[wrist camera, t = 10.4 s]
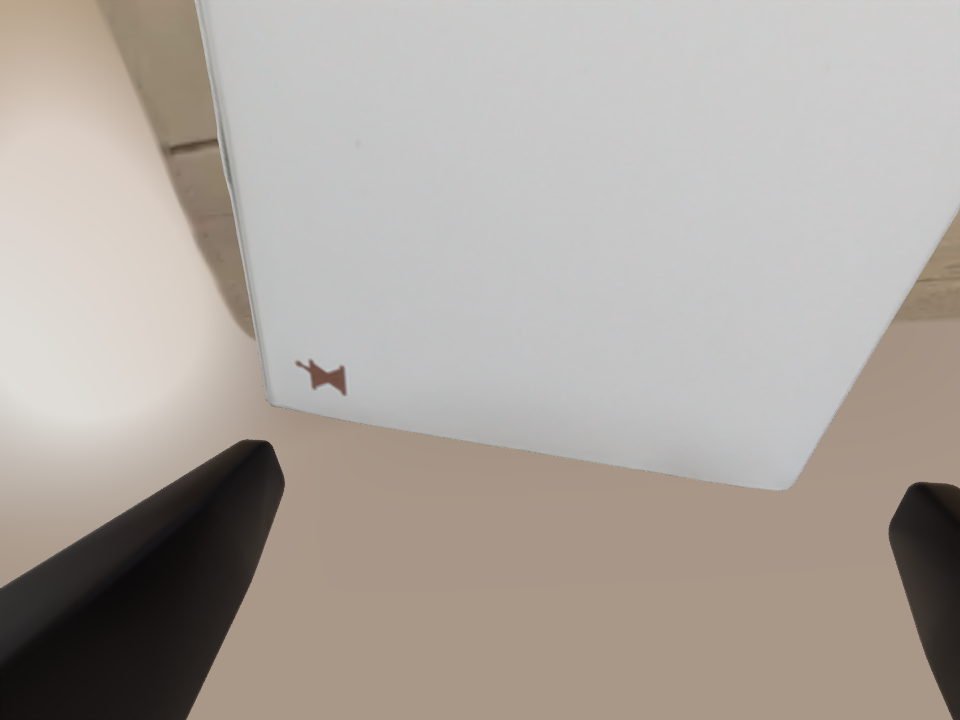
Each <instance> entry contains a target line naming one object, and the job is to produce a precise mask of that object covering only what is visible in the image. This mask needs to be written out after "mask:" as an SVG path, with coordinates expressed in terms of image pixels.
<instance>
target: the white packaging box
mask: <svg viewBox="0 0 960 720" xmlns="http://www.w3.org/2000/svg"><path fill="white" fill-rule="evenodd" d="M195 4H196V9H197V15H198V20H199V25H200V31H201V36H202V42H203V47H204V52H205V58H206V63H207V69H208V75H209V80H210V86H211V92H212V98H213V105H214V111H215V117H216V123H217V138H218V143H219V148H220V153H221V158H222V164H223V170H224V175H225V178H226V182H227V186H228V190H229V194H230V198H231V203H232V208H233V213H234V218H235V224H236V230H237V237H238V242H239V247H240V252H241V257H242V262H243V268H244V273H245V279H246V285H247V290H248V296H249V301H250V307H251V313H252V319H253V325H254V330H255V336H256V342H257V347H258V352H259V357H260V363H261V369H262V376H263V387H264V393H265V397H266V401H267V402H268V403H270V405H271V406H273V407H279V408H285V409H291V410H295V411H300V412H305V413H309V414H314V415H318V416H323V417H328V418H333V419H338V420H344V421H349V422H355V423H360V424H366V425H371V426H377V427H383V428H389V429H394V430H400V431H407V432H413V433H419V434H425V435H431V436H437V437H443V438H449V439H455V440H461V441H467V442H473V443H478V444H484V445H490V446H496V447H503V448H510V449H516V450H523V451H528V452H534V453H540V454H546V455H552V456H557V457H563V458H569V459H575V460H581V461H587V462H594V463H599V464H605V465H611V466H617V467H623V468H629V469H636V470H642V471H648V472H655V473H661V474H666V475H670V476H676V477H684V478H690V479H695V480H699V481H704V482H711V483H718V484H725V485H731V486H737V487H747V488H756V489H766V490H775V491H784V490H786V489H789V488H791V487H792V486H793V485H794V483H795V482H796V480H797V479H798V477H799V476H800V474H801V472H802V471H803V469H804V467H805V465H806V463H807V462H808V460H809V458H810V457H811V455H812V453H813V451H814V450H815V448H816V446H817V445H818V443H819V441H820V440H821V438H822V436H823V435H824V433H825V431H826V430H827V428H828V426H829V425H830V423H831V421H832V420H833V418H834V416H835V415H836V413H837V411H838V410H839V408H840V406H841V405H842V403H843V401H844V400H845V398H846V396H847V394H848V393H849V391H850V389H851V388H852V386H853V385H854V383H855V381H856V380H857V378H858V376H859V374H860V373H861V371H862V370H863V368H864V366H865V365H866V363H867V361H868V360H869V358H870V356H871V355H872V353H873V351H874V349H875V348H876V346H877V345H878V343H879V341H880V340H881V338H882V336H883V335H884V333H885V331H886V329H887V328H888V326H889V325H890V323H891V321H892V320H893V318H894V316H895V315H896V313H897V312H898V310H899V308H900V307H901V305H902V303H903V302H904V300H905V298H906V297H907V295H908V293H909V292H910V290H911V289H912V287H913V285H914V284H915V282H916V280H917V279H918V277H919V275H920V274H921V272H922V271H923V269H924V267H925V266H926V264H927V262H928V261H929V259H930V257H931V256H932V254H933V252H934V251H935V249H936V247H937V246H938V244H939V243H940V241H941V239H942V238H943V236H944V234H945V233H946V231H947V229H948V228H949V226H950V224H951V223H952V221H953V219H954V218H955V216H956V214H957V213H958V211H959V209H960V0H195Z"/></svg>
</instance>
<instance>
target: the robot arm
mask: <svg viewBox="0 0 960 720" xmlns="http://www.w3.org/2000/svg"><path fill="white" fill-rule="evenodd" d="M284 487H285V481H284V476H283V473H282V470H281V467H280V465H279V462H278V459H277V457H276V454H275V451H274V449H273V447H272V445H271V444H270V443H269V442H267V441H263V440H248V439H247V440H242V441H240V442H238V443H236V444H234V445H233V446H231V447H230V448H228V449H226V450H225V451H223V452H221V453H220V454H219V455H217V456H215V457H213V458H212V459H210V460H208V461H207V462H205V463H204V464H202V465H200V466H199V467H197V468H196V469H194V470H192V471H191V472H189V473H188V474H186V475H184V476H182V477H181V478H179V479H178V480H176V481H174V482H173V483H171V484H169V485H168V486H166V487H164V488H163V489H161V490H160V491H158V492H156V493H155V494H153V495H152V496H150V497H149V498H147V499H145V500H143V501H142V502H140V503H138V504H137V505H135V506H134V507H132V508H131V509H129V510H127V511H126V512H124V513H122V514H121V515H119V516H117V517H116V518H114V519H112V520H111V521H109V522H108V523H106V524H104V525H103V526H101V527H100V528H98V529H96V530H94V531H93V532H91V533H90V534H88V535H86V536H85V537H83V538H81V539H80V540H78V541H77V542H75V543H73V544H72V545H70V546H68V547H67V548H66V549H64V550H62V551H60V552H59V553H57V554H55V555H54V556H52V557H51V558H49V559H47V560H46V561H44V562H42V563H41V564H39V565H37V566H36V567H34V568H33V569H31V570H29V571H28V572H26V573H24V574H23V575H21V576H20V577H18V578H16V579H15V580H13V581H11V582H10V583H8V584H7V585H5V586H3V587H2V588H0V720H186V719H187V717H188V715H189V713H190V711H191V708H192V706H193V704H194V702H195V700H196V698H197V696H198V694H199V692H200V690H201V688H202V685H203V683H204V681H205V679H206V677H207V675H208V673H209V671H210V668H211V666H212V664H213V662H214V660H215V658H216V655H217V654H218V652H219V650H220V647H221V645H222V643H223V641H224V639H225V637H226V635H227V633H228V631H229V628H230V626H231V624H232V622H233V620H234V618H235V616H236V614H237V612H238V609H239V607H240V605H241V603H242V601H243V599H244V597H245V594H246V592H247V590H248V588H249V586H250V583H251V581H252V578H253V576H254V573H255V571H256V568H257V566H258V563H259V560H260V557H261V554H262V552H263V549H264V546H265V543H266V540H267V538H268V535H269V532H270V529H271V526H272V523H273V521H274V518H275V515H276V512H277V509H278V507H279V504H280V501H281V498H282V495H283V492H284ZM889 541H890V544H891V548H892V551H893V554H894V557H895V561H896V564H897V567H898V570H899V573H900V576H901V580H902V583H903V586H904V589H905V593H906V596H907V599H908V602H909V605H910V609H911V612H912V615H913V618H914V621H915V625H916V628H917V631H918V634H919V637H920V640H921V643H922V646H923V649H924V652H925V655H926V658H927V660H928V662H929V665H930V667H931V670H932V672H933V675H934V677H935V680H936V682H937V684H938V686H939V689H940V691H941V693H942V696H943V698H944V700H945V702H946V705H947V707H948V709H949V712H950V714H951V716H952V719H953V720H960V489H959V488H958V487H956V486H954V485H950V484H943V483H928V482H918V483H914V484H913V485H911V486H910V487H909V488H908V490H907V491H906V493H905V495H904V497H903V499H902V501H901V503H900V505H899V507H898V508H897V510H896V512H895V514H894V516H893V518H892V520H891V522H890V525H889Z"/></svg>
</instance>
